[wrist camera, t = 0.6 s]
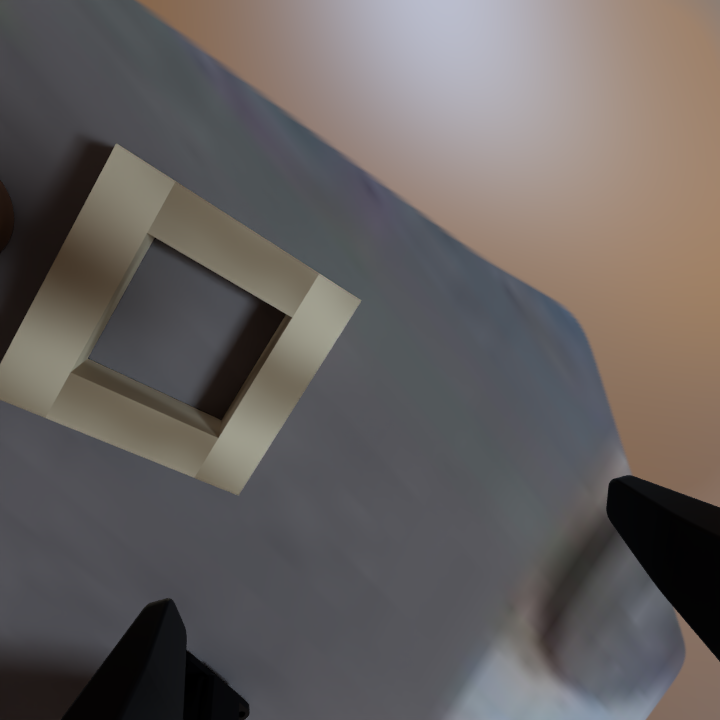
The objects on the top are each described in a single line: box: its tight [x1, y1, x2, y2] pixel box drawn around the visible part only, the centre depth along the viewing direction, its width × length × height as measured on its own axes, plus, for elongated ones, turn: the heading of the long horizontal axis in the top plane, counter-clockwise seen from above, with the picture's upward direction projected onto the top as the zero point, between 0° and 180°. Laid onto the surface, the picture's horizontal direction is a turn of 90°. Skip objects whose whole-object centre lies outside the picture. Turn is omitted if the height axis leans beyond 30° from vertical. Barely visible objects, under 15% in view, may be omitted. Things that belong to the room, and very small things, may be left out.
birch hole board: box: [0, 144, 361, 495], centre depth 19 cm, size 11×11×2 cm
